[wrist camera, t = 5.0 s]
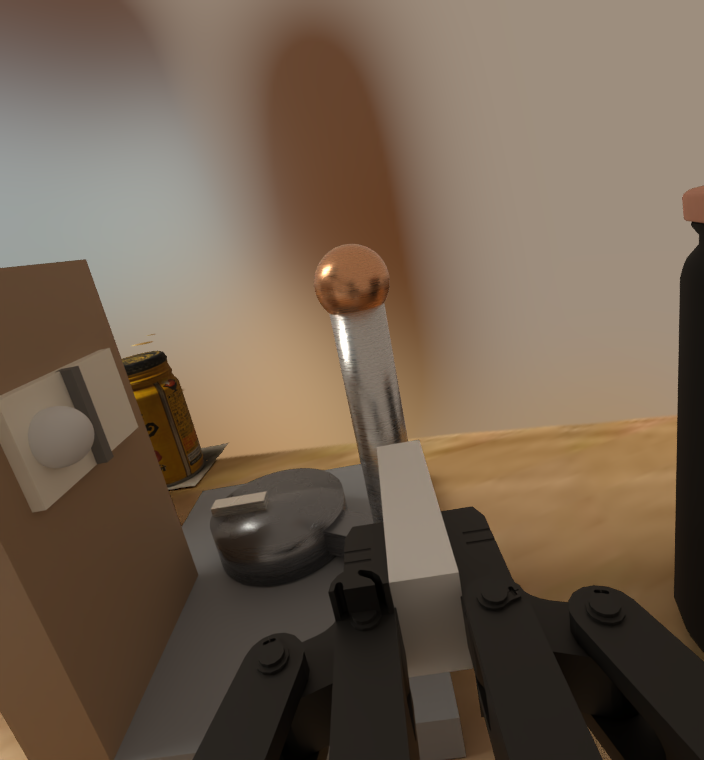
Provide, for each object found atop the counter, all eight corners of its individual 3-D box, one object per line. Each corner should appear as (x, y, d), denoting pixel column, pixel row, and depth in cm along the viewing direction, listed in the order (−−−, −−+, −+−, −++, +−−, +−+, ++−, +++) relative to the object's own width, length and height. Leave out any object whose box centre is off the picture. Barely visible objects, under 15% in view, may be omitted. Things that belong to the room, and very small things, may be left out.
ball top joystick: (193, 620, 23) (74, 300, 18) (239, 510, 32) (167, 277, 28) (441, 582, 22) (384, 237, 18) (416, 481, 32) (374, 235, 27)
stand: (56, 809, 18) (-236, 303, 12) (210, 512, 37) (126, 259, 31) (466, 756, 17) (367, 176, 11) (407, 479, 36) (360, 211, 30)
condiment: (123, 496, 43) (76, 375, 39) (168, 453, 51) (132, 349, 47) (195, 488, 42) (153, 362, 38) (229, 445, 50) (197, 338, 46)
